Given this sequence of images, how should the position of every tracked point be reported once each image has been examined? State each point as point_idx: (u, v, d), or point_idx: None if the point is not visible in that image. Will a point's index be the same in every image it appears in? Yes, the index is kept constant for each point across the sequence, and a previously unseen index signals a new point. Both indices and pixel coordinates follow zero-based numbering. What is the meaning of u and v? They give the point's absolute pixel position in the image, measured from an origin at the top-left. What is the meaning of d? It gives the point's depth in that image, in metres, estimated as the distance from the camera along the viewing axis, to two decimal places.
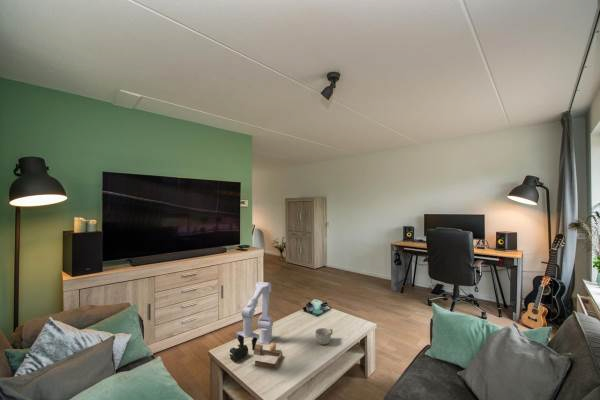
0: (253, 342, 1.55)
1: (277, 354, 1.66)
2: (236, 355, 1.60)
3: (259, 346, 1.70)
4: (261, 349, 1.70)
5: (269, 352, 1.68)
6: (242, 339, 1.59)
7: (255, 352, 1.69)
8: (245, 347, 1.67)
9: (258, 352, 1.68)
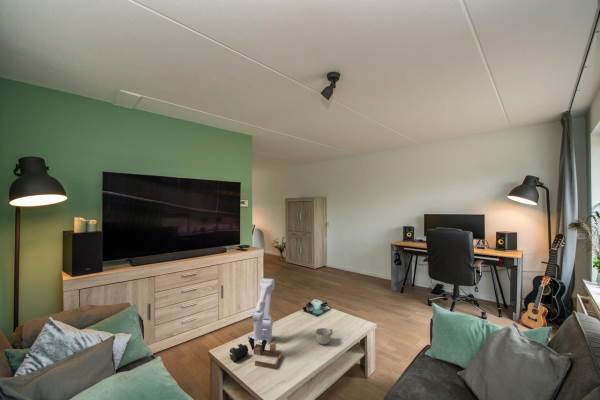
0: (263, 344, 1.67)
1: (277, 354, 1.66)
2: (236, 355, 1.60)
3: (259, 346, 1.70)
4: (261, 349, 1.70)
5: (269, 352, 1.68)
6: (253, 341, 1.71)
7: (255, 352, 1.69)
8: (245, 347, 1.67)
9: (258, 352, 1.68)
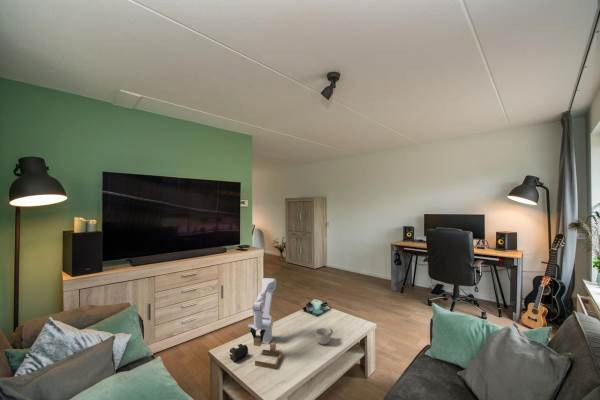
0: (261, 333, 1.67)
1: (277, 354, 1.66)
2: (236, 355, 1.60)
3: (259, 337, 1.70)
4: None
5: (269, 352, 1.68)
6: (254, 331, 1.71)
7: (255, 343, 1.69)
8: (245, 347, 1.66)
9: (258, 343, 1.68)
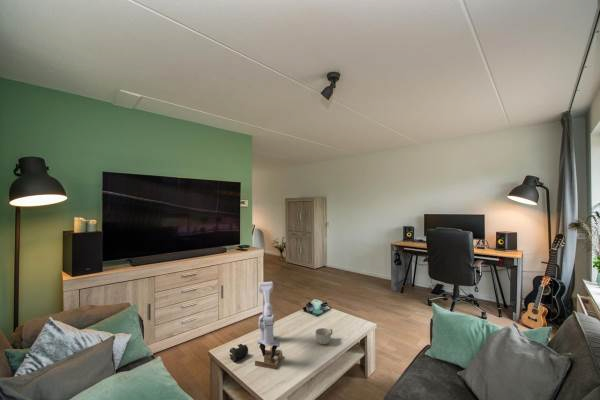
0: (273, 350, 1.59)
1: (277, 354, 1.66)
2: (236, 355, 1.60)
3: (270, 354, 1.62)
4: None
5: None
6: (264, 347, 1.63)
7: (266, 360, 1.60)
8: (245, 347, 1.66)
9: (269, 360, 1.60)
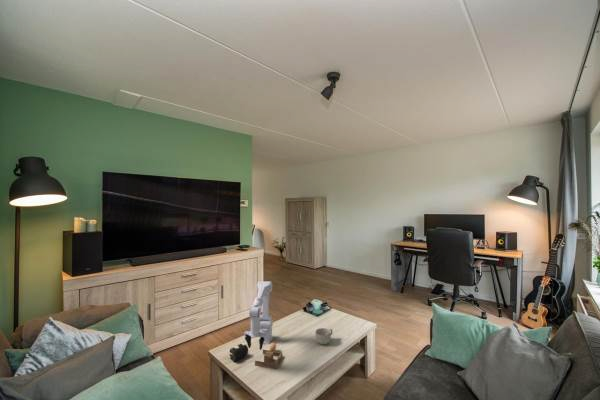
0: (260, 342, 1.56)
1: (277, 354, 1.66)
2: (236, 355, 1.60)
3: (270, 354, 1.62)
4: (272, 357, 1.62)
5: None
6: (249, 339, 1.60)
7: (266, 360, 1.60)
8: (245, 347, 1.66)
9: (269, 360, 1.60)
